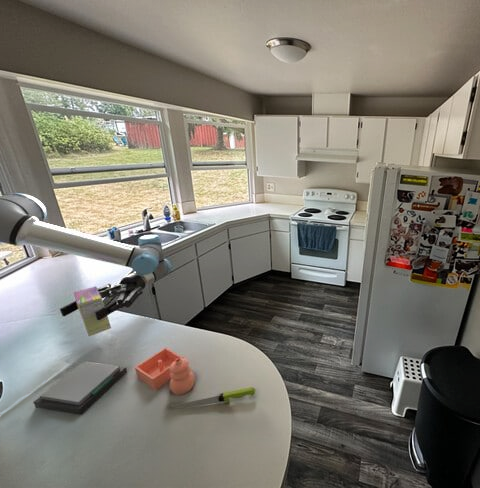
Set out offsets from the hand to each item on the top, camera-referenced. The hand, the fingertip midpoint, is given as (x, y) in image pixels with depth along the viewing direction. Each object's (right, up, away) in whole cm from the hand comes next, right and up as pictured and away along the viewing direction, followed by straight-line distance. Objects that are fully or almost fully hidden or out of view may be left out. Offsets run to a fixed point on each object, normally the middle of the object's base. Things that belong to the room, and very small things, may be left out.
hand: (79, 314), depth 77 cm
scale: (+6, -21, -4) cm, 22 cm away
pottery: (+28, -20, 0) cm, 35 cm away
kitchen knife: (+45, -23, -7) cm, 51 cm away
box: (0, -5, +6) cm, 8 cm away
